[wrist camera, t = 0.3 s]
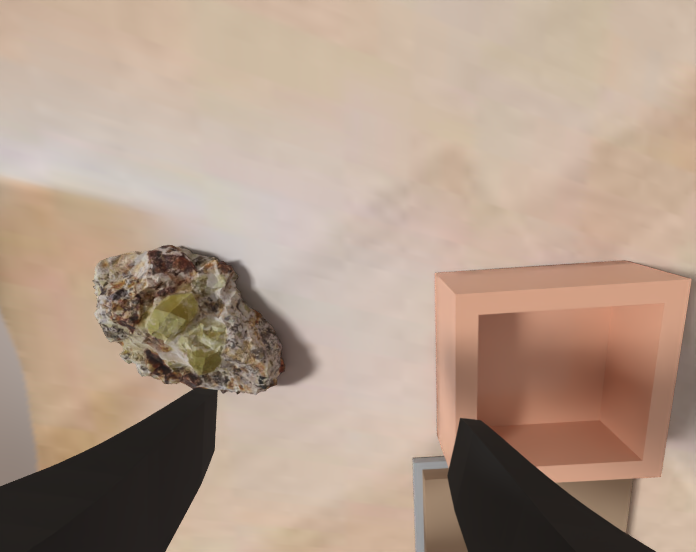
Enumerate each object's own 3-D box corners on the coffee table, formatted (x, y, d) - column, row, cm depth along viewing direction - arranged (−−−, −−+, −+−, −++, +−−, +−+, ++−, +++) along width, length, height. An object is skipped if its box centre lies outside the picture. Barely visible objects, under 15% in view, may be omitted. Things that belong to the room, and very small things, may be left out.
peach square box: (606, 425, 22) (660, 476, 18) (437, 435, 22) (455, 488, 19) (624, 260, 20) (691, 279, 16) (434, 272, 20) (455, 294, 16)
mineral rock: (47, 353, 19) (82, 234, 15) (106, 307, 23) (146, 202, 19) (233, 451, 21) (305, 364, 17) (260, 392, 25) (323, 311, 21)
